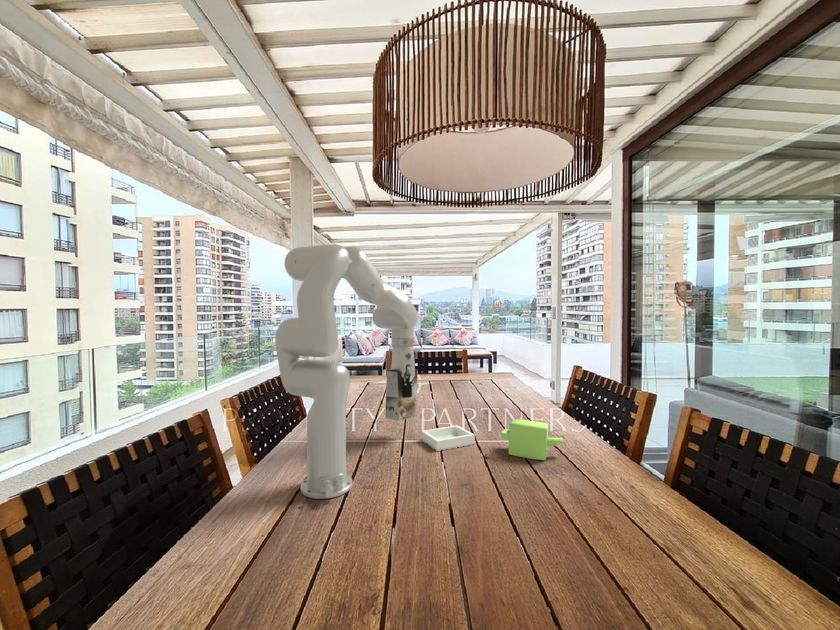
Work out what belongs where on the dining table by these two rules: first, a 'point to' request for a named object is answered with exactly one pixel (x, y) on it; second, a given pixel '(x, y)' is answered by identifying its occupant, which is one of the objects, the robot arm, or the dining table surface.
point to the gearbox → (529, 439)
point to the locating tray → (448, 437)
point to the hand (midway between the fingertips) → (401, 394)
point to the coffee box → (399, 397)
